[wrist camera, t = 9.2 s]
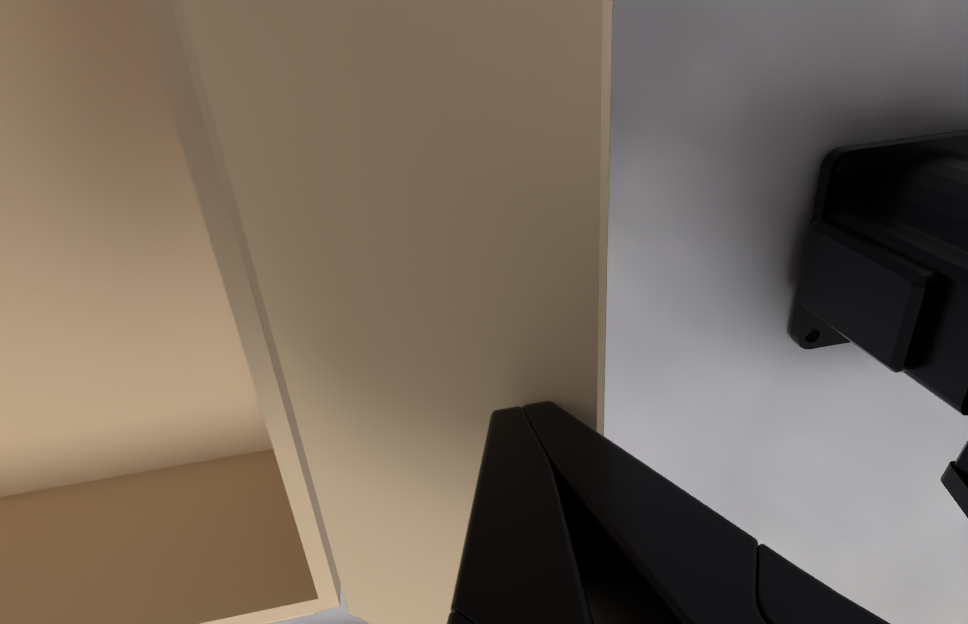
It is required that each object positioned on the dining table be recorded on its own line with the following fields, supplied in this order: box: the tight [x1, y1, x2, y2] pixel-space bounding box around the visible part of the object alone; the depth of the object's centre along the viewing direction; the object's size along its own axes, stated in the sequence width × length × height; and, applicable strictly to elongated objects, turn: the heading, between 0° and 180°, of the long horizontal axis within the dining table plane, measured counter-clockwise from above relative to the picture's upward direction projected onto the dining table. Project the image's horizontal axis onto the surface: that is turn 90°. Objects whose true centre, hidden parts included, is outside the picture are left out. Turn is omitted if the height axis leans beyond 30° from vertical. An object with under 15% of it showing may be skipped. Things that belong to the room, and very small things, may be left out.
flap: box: [182, 0, 613, 624], centre depth 10 cm, size 6×13×1 cm
